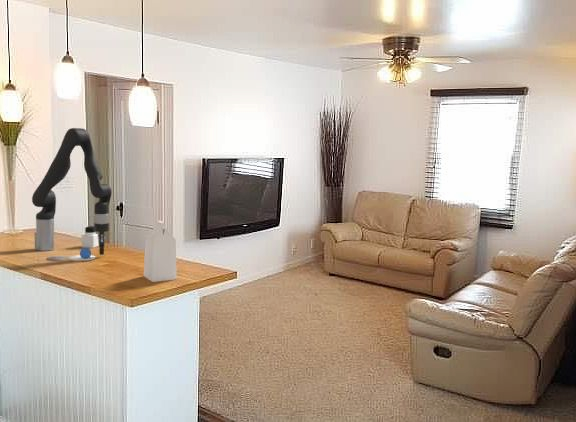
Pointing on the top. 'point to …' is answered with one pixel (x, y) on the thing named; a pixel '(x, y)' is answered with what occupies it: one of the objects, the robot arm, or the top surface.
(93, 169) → the robot arm
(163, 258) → the milk
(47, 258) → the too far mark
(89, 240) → the medicine bottle
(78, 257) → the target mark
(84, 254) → the ball
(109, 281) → the top surface
